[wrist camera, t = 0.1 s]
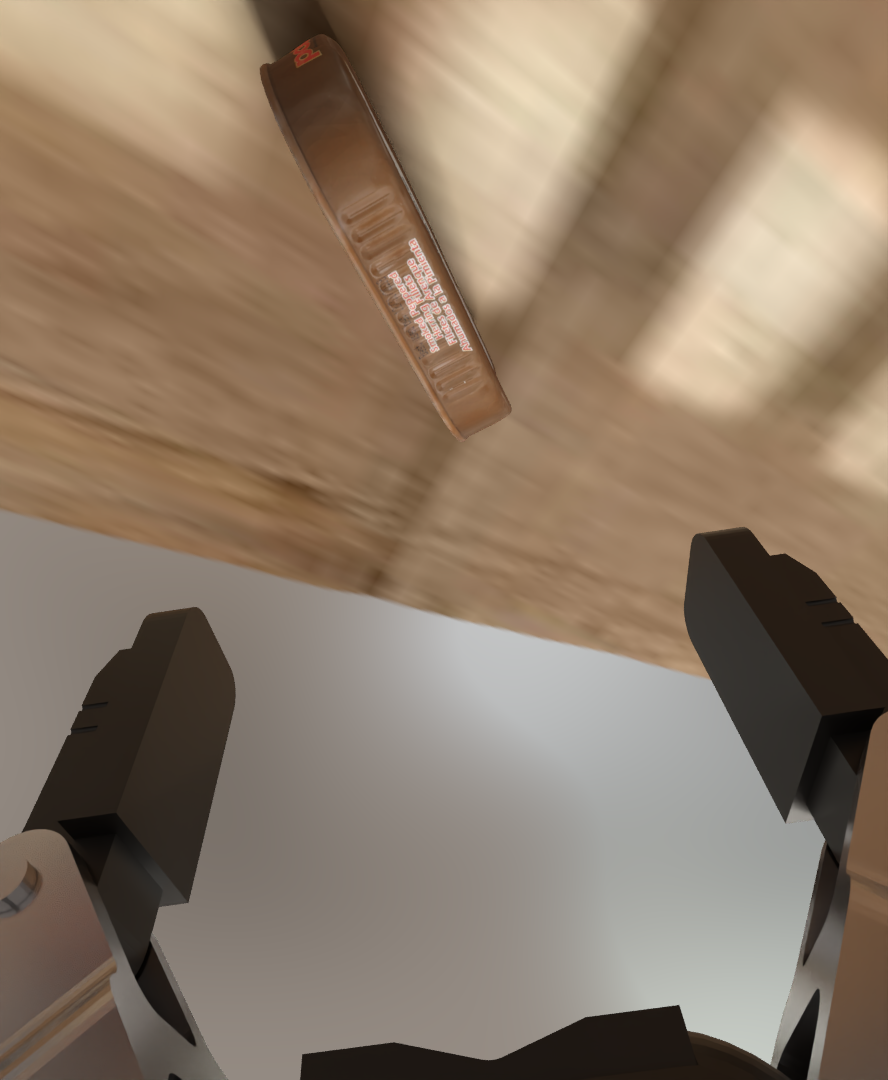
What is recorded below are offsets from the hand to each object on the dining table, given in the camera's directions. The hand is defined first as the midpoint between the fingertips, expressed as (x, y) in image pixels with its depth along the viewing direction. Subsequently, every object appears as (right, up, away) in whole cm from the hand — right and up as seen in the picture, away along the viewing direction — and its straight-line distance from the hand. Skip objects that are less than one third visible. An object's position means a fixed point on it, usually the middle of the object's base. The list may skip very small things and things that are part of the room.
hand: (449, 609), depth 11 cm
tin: (-2, +15, +17) cm, 23 cm away
